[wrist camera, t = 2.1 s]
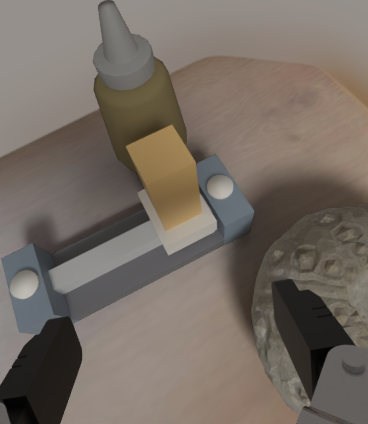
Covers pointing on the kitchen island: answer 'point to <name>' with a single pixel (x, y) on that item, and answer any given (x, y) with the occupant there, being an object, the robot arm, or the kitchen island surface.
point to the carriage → (171, 189)
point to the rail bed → (131, 269)
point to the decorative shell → (314, 286)
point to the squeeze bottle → (131, 86)
